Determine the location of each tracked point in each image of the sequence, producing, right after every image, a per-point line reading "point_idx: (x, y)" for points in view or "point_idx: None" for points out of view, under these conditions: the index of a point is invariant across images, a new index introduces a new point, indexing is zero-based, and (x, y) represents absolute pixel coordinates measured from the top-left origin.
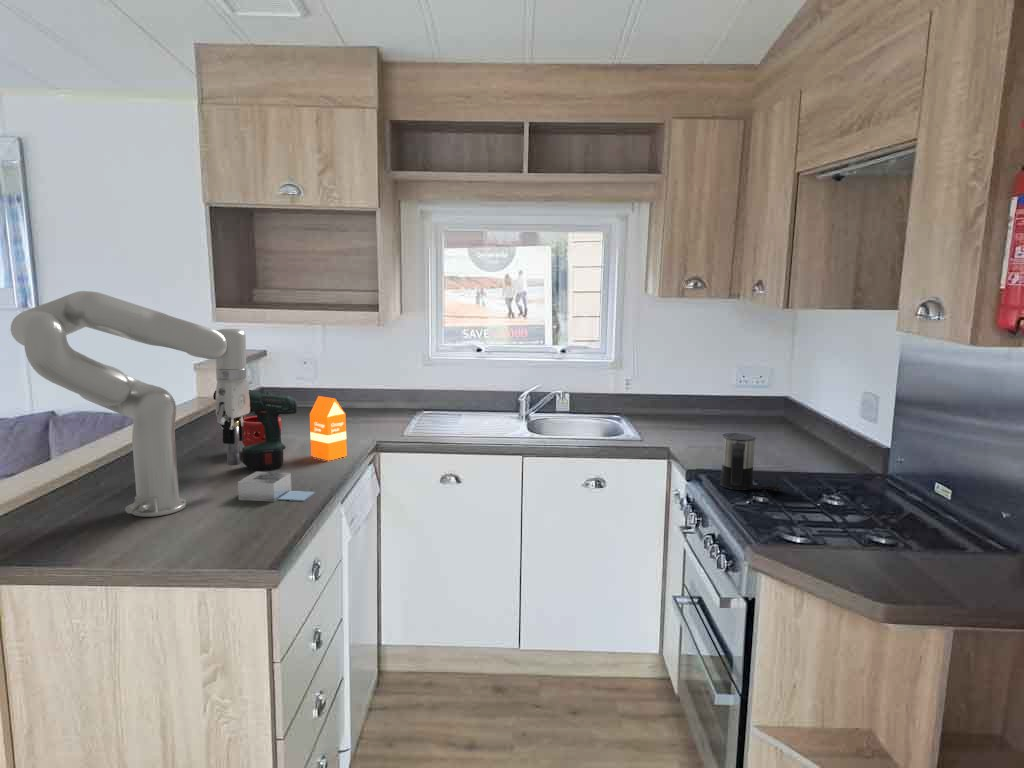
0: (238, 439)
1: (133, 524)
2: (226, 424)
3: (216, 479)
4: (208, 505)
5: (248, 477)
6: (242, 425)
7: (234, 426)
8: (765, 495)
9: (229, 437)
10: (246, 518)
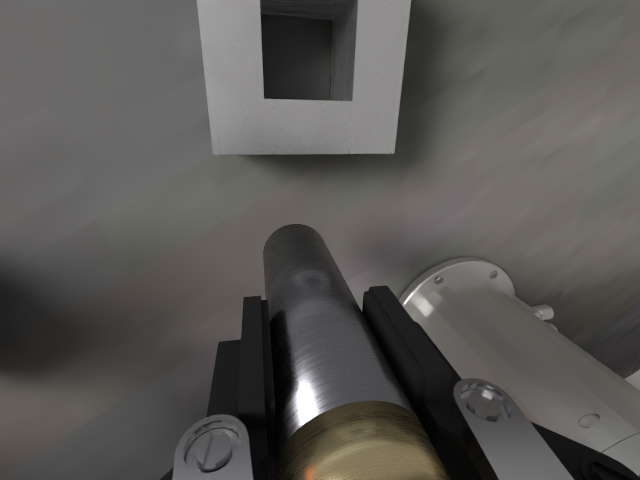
0: (322, 299)
1: (544, 294)
2: (601, 459)
3: (156, 351)
4: (421, 211)
5: (326, 138)
6: (211, 423)
7: (414, 418)
8: None
9: (428, 338)
10: (552, 4)
